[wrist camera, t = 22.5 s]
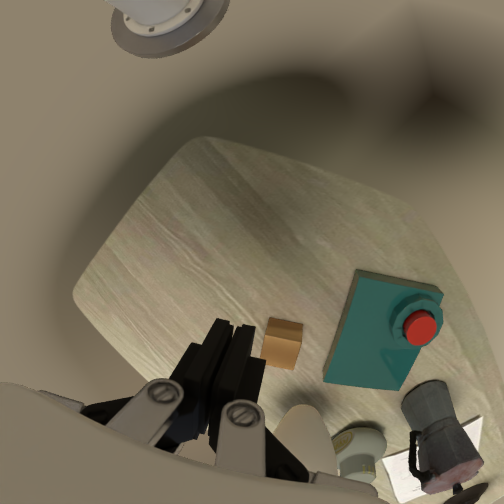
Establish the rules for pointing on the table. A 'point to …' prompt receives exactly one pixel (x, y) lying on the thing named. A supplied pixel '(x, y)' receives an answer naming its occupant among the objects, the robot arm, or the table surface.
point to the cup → (308, 439)
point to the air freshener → (359, 453)
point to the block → (282, 343)
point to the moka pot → (438, 440)
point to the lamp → (468, 495)
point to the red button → (419, 327)
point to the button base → (379, 331)
